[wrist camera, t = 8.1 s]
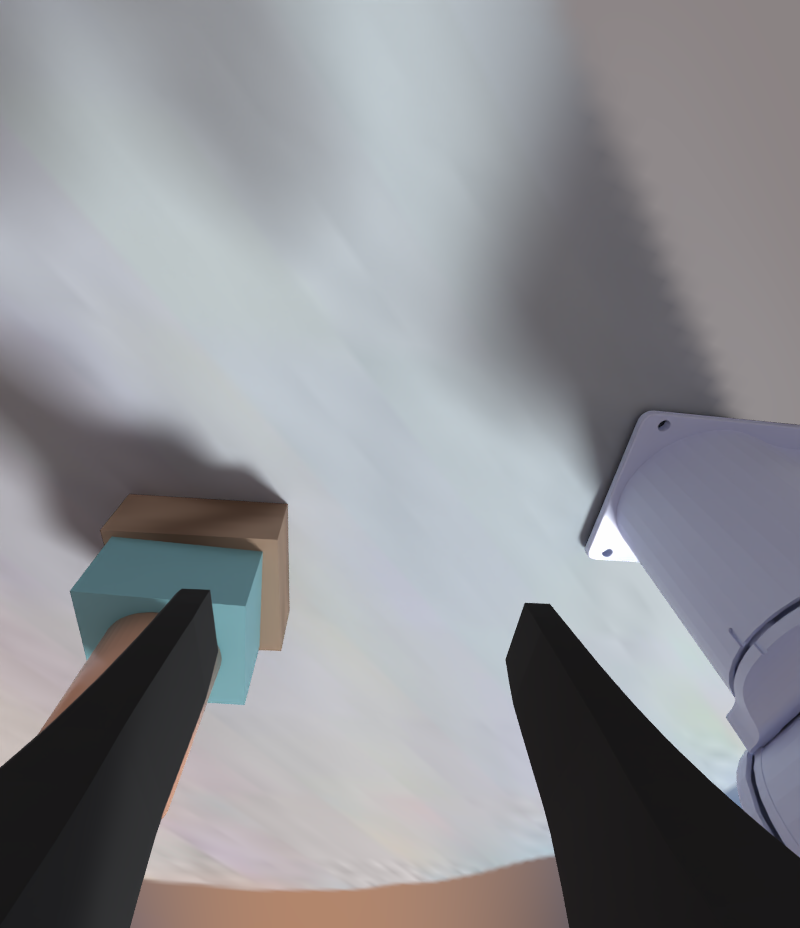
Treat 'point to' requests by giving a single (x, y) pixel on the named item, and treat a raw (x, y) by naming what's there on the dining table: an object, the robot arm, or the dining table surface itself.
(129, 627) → the terracotta cylinder
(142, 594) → the teal top slab
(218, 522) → the walnut base slab
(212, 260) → the dining table surface
